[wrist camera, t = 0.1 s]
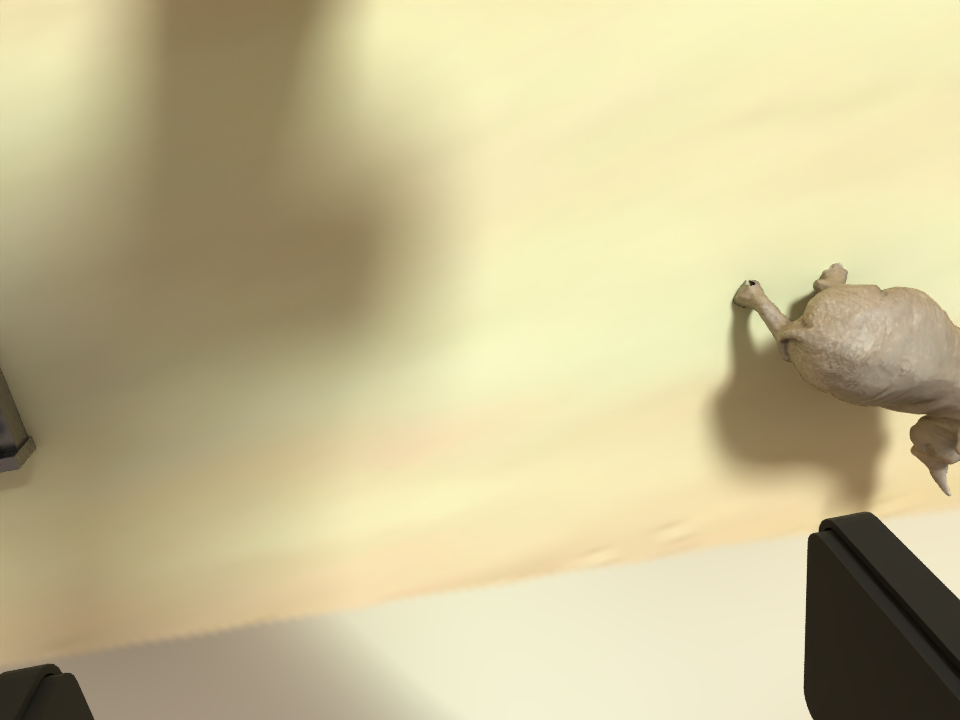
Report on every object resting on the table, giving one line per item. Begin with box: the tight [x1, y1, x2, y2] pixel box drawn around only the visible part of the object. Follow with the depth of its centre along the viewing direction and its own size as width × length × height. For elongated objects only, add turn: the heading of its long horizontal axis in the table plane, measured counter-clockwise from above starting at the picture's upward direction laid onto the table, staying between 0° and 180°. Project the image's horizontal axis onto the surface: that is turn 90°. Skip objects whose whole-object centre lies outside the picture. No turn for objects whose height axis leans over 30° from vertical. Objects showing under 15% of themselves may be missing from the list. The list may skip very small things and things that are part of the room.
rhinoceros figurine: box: [733, 263, 960, 496], centre depth 47 cm, size 8×14×15 cm
